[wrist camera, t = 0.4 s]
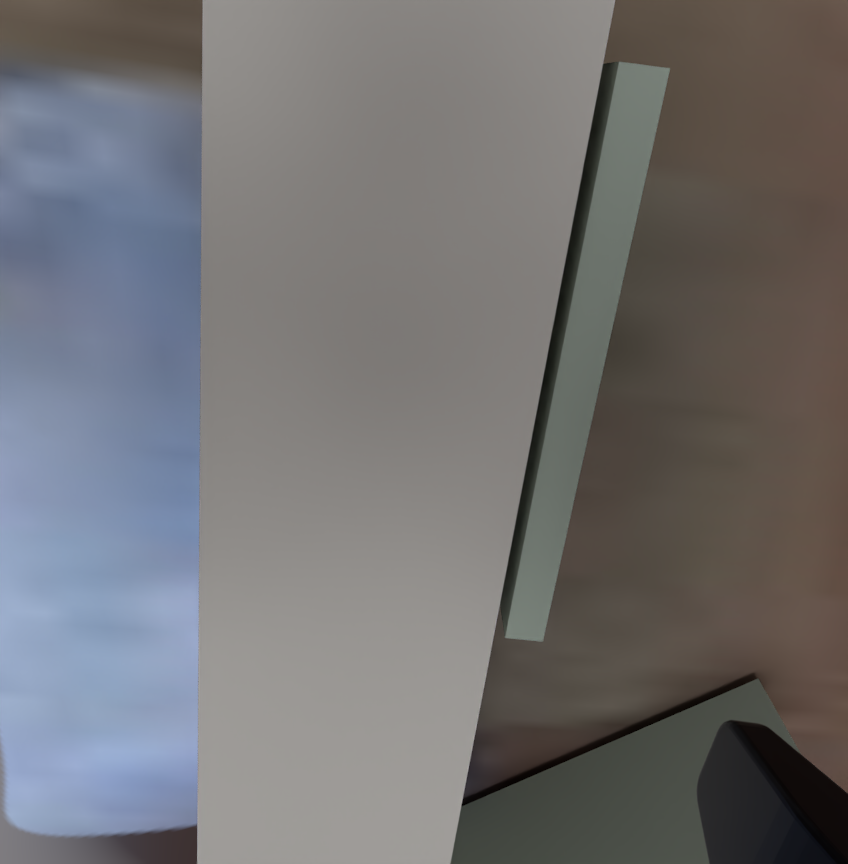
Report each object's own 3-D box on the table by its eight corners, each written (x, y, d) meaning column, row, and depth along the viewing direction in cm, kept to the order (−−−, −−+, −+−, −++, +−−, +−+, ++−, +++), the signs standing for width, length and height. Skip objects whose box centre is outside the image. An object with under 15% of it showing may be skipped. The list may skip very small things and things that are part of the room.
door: (448, 849, 28) (454, 1063, 22) (422, 817, 28) (420, 1028, 21) (776, 711, 26) (888, 910, 19) (755, 672, 25) (863, 866, 19)
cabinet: (476, 829, 28) (491, 1049, 22) (249, 809, 28) (196, 1026, 21) (644, 14, 18) (767, -30, 11) (285, -35, 17) (202, -108, 11)
